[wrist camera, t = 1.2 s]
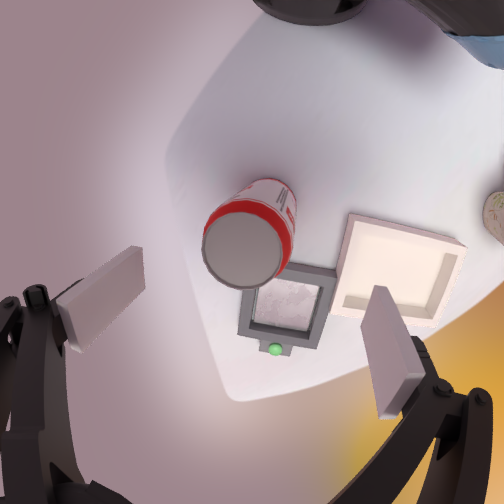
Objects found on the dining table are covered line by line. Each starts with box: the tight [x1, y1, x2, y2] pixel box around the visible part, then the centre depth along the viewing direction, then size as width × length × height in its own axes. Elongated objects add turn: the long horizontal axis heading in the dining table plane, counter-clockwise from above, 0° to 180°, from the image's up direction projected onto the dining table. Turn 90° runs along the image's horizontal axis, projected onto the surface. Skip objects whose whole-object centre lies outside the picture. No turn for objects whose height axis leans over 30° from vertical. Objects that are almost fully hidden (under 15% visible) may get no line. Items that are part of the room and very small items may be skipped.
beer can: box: [201, 178, 296, 290], centre depth 25 cm, size 6×6×16 cm
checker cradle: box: [237, 262, 338, 356], centre depth 35 cm, size 13×11×2 cm
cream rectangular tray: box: [329, 213, 468, 328], centre depth 30 cm, size 11×15×4 cm
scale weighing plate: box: [254, 278, 319, 331], centre depth 35 cm, size 7×7×1 cm
